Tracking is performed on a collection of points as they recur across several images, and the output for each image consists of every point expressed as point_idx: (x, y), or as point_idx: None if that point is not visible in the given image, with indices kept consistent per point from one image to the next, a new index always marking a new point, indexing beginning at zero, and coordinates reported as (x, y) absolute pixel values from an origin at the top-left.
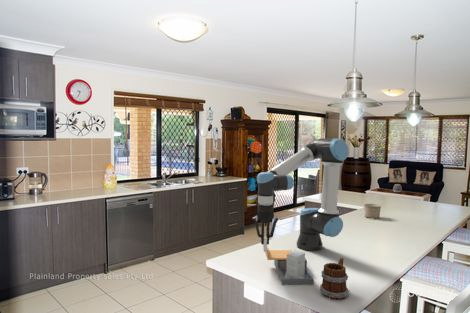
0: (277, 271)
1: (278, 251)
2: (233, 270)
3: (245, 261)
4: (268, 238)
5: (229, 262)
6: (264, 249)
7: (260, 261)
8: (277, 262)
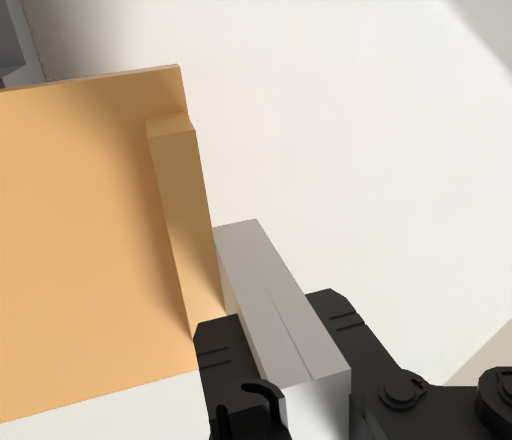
0: (43, 78)
1: (42, 368)
2: (479, 62)
3: (364, 275)
4: (233, 394)
5: (482, 227)
6: (254, 238)
7: None
8: None
